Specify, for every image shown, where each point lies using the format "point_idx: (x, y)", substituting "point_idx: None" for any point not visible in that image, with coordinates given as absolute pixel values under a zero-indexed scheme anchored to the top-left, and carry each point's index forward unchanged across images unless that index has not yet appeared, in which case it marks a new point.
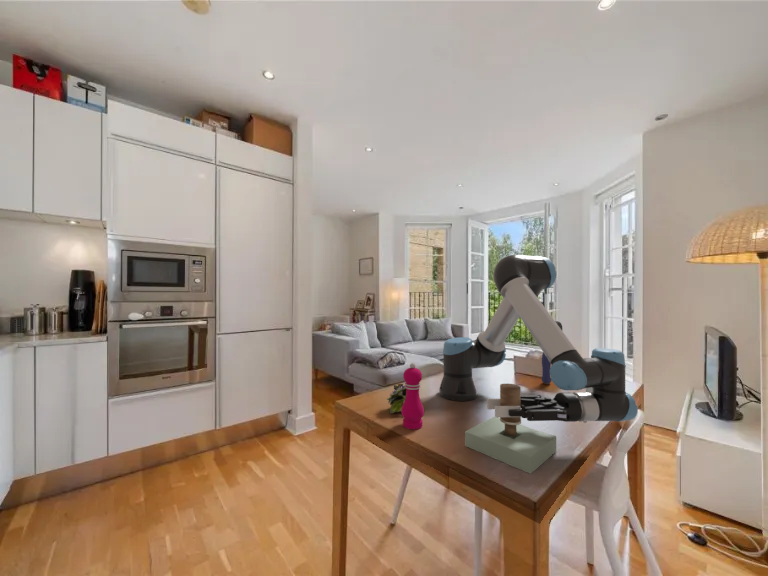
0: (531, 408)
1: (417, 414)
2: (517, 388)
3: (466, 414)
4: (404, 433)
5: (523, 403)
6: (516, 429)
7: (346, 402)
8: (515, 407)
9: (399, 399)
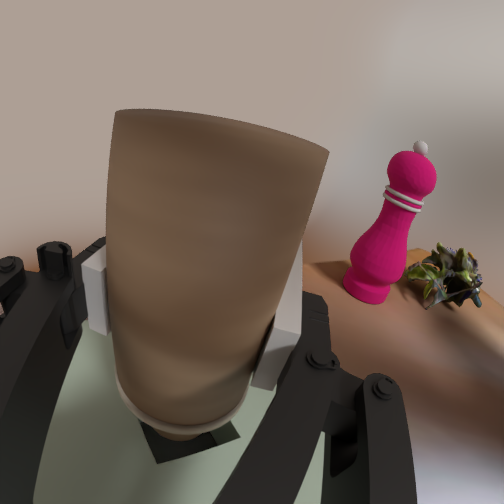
0: (10, 313)
1: (355, 254)
2: (124, 111)
3: (463, 423)
4: (322, 267)
5: (234, 469)
6: (220, 482)
7: (429, 254)
8: (102, 249)
9: (437, 270)
